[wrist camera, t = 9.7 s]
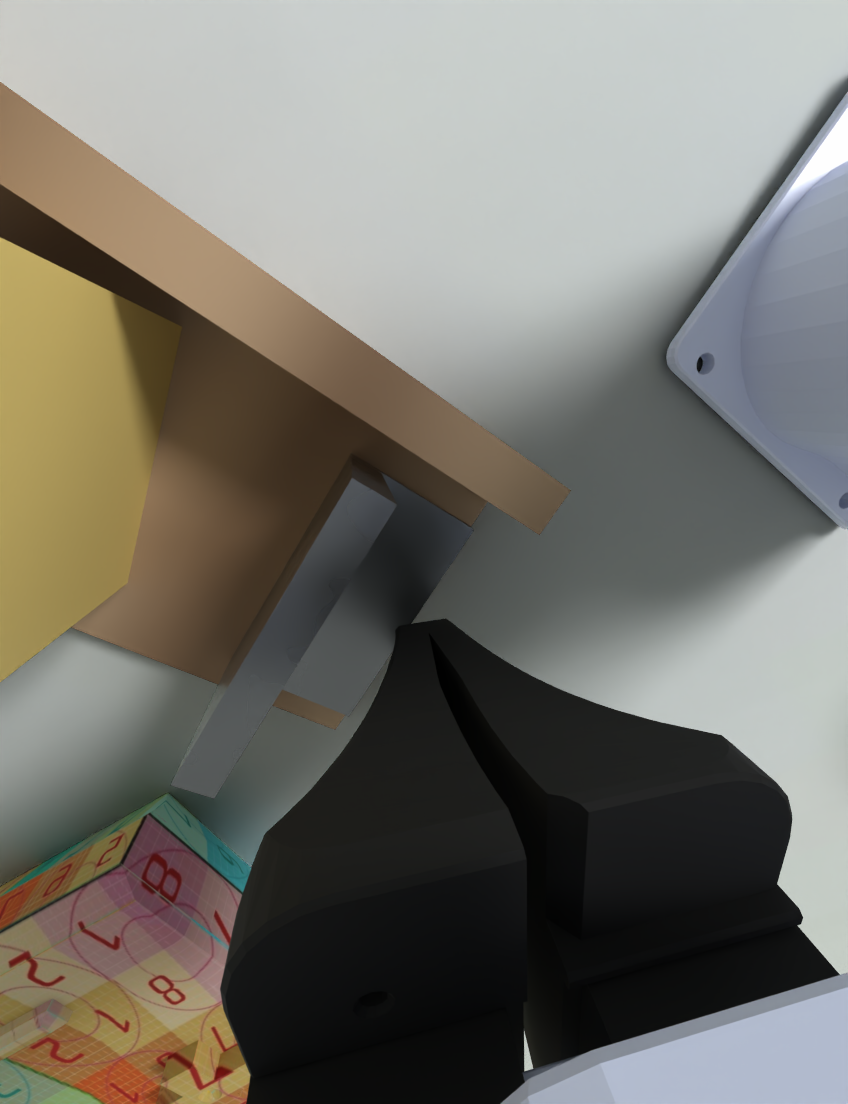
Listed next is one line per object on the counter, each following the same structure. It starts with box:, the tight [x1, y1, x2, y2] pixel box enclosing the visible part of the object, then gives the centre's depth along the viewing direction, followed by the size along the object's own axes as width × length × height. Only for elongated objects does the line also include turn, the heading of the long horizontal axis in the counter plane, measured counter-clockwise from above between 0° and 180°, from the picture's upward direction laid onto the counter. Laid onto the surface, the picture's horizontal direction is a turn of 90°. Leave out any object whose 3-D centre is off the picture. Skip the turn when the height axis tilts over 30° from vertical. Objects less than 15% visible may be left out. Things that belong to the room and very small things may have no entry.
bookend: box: [171, 453, 474, 798], centre depth 9 cm, size 4×6×4 cm, turn 147°
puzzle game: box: [0, 793, 251, 1104], centre depth 15 cm, size 12×5×20 cm
